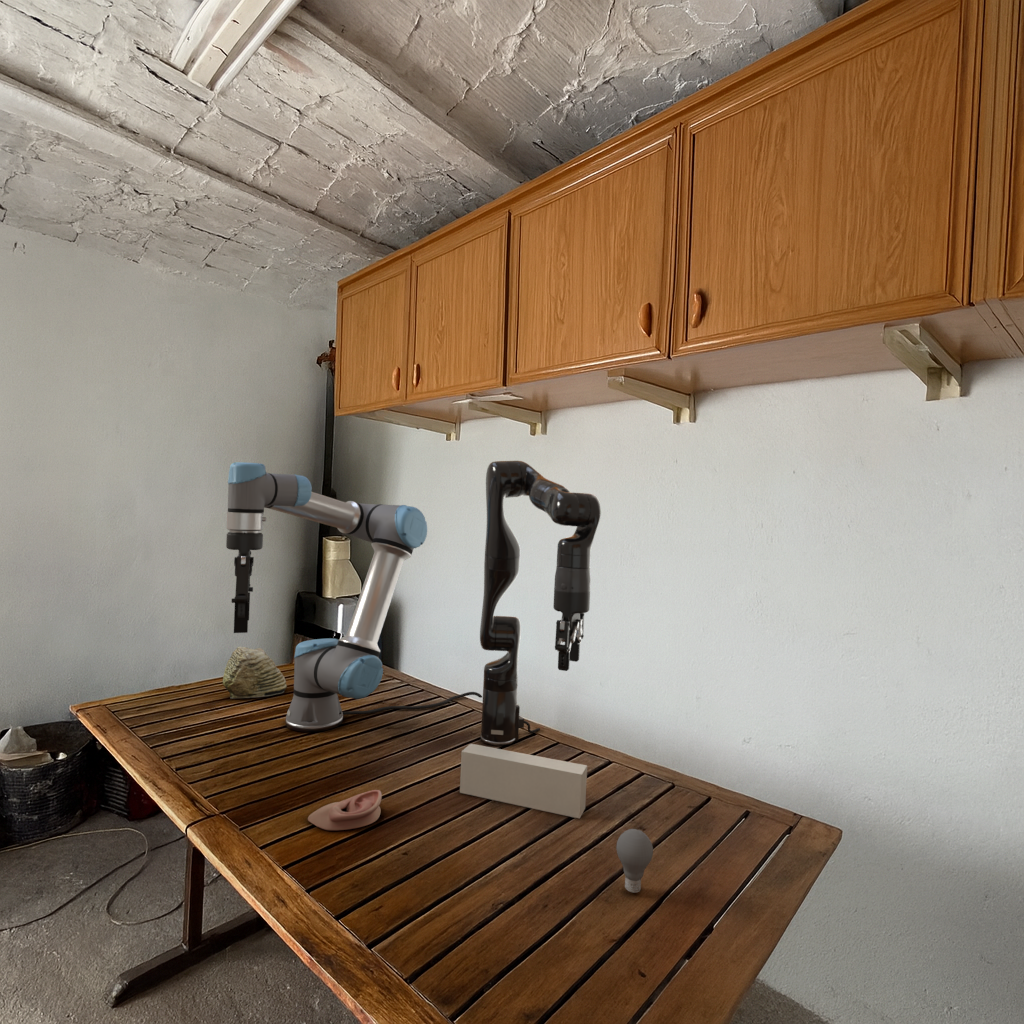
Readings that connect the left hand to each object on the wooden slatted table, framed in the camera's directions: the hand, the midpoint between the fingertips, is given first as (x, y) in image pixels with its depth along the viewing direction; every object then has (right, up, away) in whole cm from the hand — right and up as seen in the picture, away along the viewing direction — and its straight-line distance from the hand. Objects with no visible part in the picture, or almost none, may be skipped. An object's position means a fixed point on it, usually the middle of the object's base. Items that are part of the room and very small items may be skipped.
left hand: (241, 626), depth 142 cm
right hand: (+73, -7, -9) cm, 73 cm away
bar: (+63, -36, -6) cm, 73 cm away
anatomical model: (+27, -35, -16) cm, 47 cm away
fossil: (-20, -32, +56) cm, 67 cm away
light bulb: (+81, -38, -36) cm, 96 cm away
